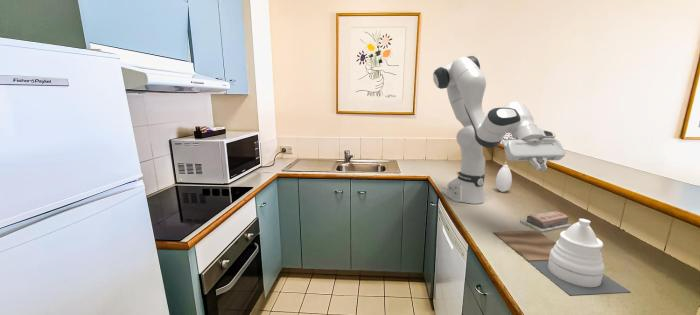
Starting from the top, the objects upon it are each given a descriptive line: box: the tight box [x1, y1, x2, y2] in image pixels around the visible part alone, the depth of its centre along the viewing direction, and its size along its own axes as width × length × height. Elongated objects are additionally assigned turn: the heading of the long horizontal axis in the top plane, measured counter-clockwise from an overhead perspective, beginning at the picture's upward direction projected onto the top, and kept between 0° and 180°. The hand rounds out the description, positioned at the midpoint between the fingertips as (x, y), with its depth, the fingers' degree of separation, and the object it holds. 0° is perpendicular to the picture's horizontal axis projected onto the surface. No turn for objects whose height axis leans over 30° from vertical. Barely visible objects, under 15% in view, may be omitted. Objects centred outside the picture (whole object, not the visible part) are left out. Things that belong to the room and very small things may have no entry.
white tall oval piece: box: [495, 162, 513, 193], centre depth 159 cm, size 8×8×18 cm
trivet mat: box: [528, 261, 631, 297], centre depth 85 cm, size 16×18×1 cm
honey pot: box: [548, 218, 605, 287], centre depth 84 cm, size 13×13×18 cm
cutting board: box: [493, 229, 556, 263], centre depth 103 cm, size 20×18×1 cm
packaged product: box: [519, 210, 573, 233], centre depth 120 cm, size 18×5×10 cm
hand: (542, 169), depth 99 cm, fingers closed
